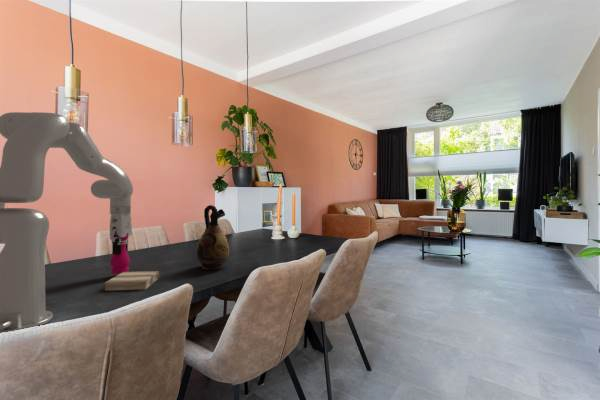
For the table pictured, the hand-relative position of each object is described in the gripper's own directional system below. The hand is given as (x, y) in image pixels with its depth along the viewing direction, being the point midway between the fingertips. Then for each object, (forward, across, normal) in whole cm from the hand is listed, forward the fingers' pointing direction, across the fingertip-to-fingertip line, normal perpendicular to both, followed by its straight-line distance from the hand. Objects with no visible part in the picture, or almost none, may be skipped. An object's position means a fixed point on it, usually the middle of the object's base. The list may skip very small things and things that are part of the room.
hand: (120, 252), depth 123 cm
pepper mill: (+9, 0, 0) cm, 9 cm away
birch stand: (+10, -11, -10) cm, 18 cm away
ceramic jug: (+10, +12, -36) cm, 39 cm away
